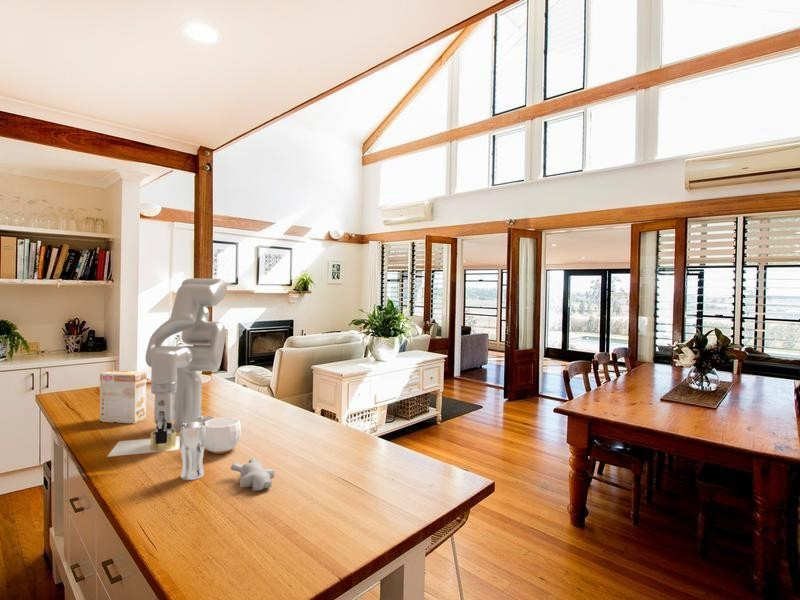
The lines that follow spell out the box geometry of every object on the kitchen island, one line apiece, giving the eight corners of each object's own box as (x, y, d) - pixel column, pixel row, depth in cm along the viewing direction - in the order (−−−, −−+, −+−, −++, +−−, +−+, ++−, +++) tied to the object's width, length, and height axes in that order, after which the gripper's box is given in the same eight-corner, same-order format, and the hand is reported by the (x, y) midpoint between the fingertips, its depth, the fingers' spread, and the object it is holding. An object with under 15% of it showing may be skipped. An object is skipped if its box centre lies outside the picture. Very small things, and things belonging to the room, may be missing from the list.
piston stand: (183, 438, 153) (183, 421, 153) (178, 452, 140) (178, 434, 140) (118, 444, 146) (118, 426, 146) (106, 459, 133) (107, 440, 133)
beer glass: (179, 472, 126) (180, 422, 125) (205, 469, 128) (206, 419, 128) (178, 482, 119) (178, 429, 119) (205, 479, 122) (206, 427, 122)
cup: (192, 454, 139) (192, 425, 139) (220, 442, 151) (220, 415, 151) (222, 460, 135) (222, 430, 135) (248, 447, 147) (248, 419, 147)
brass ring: (176, 442, 147) (177, 427, 147) (173, 449, 140) (174, 434, 140) (153, 444, 144) (153, 429, 144) (148, 452, 138) (149, 436, 138)
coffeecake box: (146, 418, 174) (147, 371, 174) (134, 424, 167) (134, 374, 167) (112, 416, 176) (113, 369, 175) (98, 422, 169) (99, 373, 168)
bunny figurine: (248, 482, 112) (227, 458, 123) (246, 500, 113) (226, 475, 124) (281, 473, 118) (258, 450, 129) (280, 490, 119) (257, 466, 130)
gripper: (173, 393, 135) (172, 446, 136) (180, 381, 151) (179, 428, 152) (146, 394, 132) (145, 448, 133) (156, 382, 149) (155, 430, 149)
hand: (163, 438), depth 142 cm, fingers open, 9 cm apart
